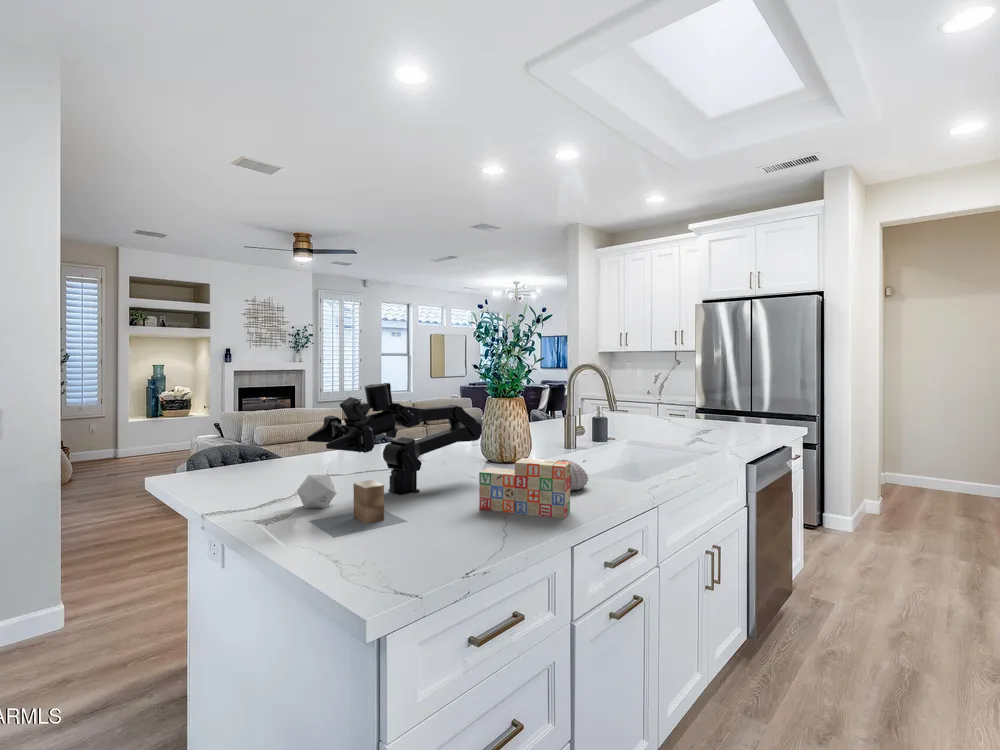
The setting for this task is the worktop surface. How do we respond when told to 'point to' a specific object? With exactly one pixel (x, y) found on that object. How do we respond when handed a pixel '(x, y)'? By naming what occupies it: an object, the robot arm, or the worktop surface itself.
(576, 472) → the sea urchin shell
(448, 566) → the worktop surface
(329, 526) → the rubber mat
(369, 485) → the wooden block
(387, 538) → the worktop surface
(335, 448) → the robot arm
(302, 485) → the die
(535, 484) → the stack of blocks
